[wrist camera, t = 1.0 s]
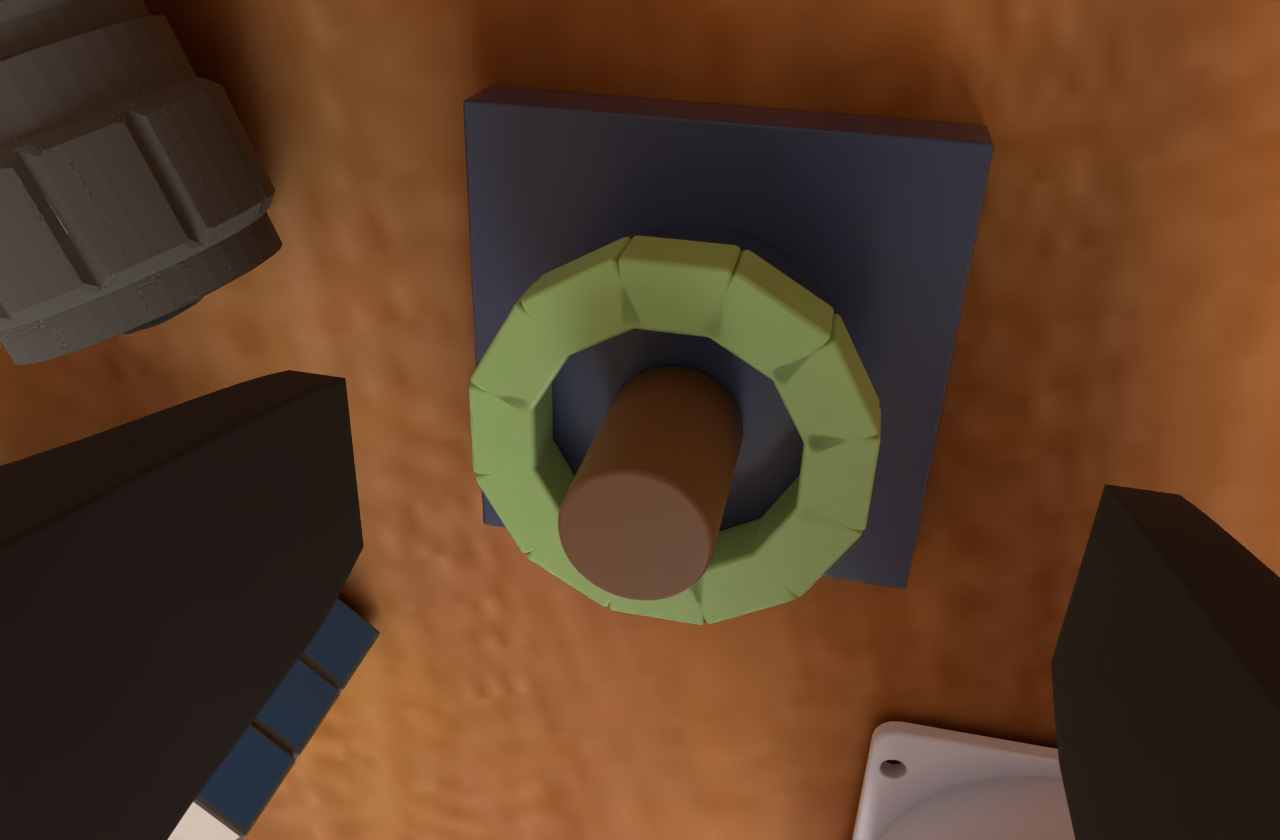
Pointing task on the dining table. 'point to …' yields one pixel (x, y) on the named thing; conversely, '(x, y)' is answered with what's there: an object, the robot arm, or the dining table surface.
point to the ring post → (698, 366)
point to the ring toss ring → (743, 324)
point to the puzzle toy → (279, 731)
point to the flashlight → (114, 178)
